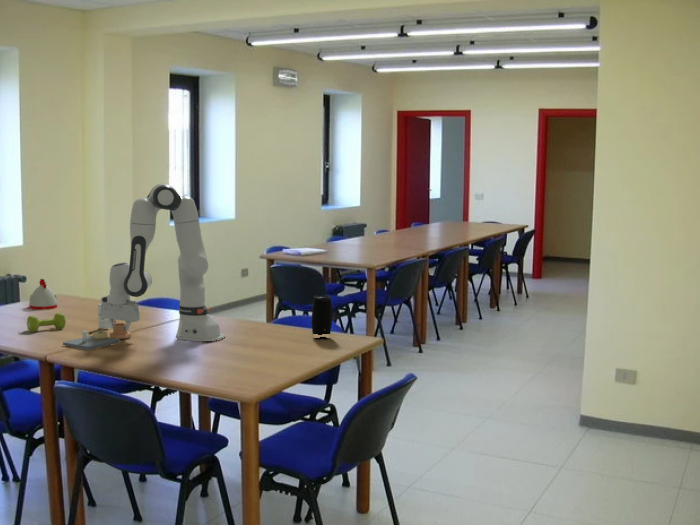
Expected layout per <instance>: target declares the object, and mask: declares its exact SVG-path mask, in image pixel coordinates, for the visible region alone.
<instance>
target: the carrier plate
mask: <svg viewBox="0 0 700 525" xmlns="http://www.w3.org/2000/svg"><path fill="white" fill-rule="evenodd" d="M81 333H82V334H81V337H80V338H76V339H71V340H68V341H67V340H66V341H63V342H62V346H63V345H65V346H64V347H67V346H70V347H69V348H73V347H75V348H74V349H78V348H79V349H80V350H85V351H92V350H91V349H93V350H96V348H97V349H101V348H104V346H105V347H108V345H109V346H112V345H111V344H113V345H116V343H117V344H120V342H121V339H115V338H110V336H108V332H106V331H102V330H98V331H95V332H93V333H92V335H89V336H88V332H87V330H83V331H82V332H81ZM100 347H101V348H100Z"/></svg>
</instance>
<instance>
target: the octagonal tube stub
mask: <svg viewBox="0 0 700 525" xmlns="http://www.w3.org/2000/svg"><path fill="white" fill-rule="evenodd" d="M126 324H127V323H126V322H116V323H115V324H113V329H112V331H111V332H109V338H115V339H120V340H121V339H129V338H131V336H132V334H131V331H124V327H125V326H126Z"/></svg>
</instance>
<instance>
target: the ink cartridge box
mask: <svg viewBox="0 0 700 525" xmlns="http://www.w3.org/2000/svg"><path fill="white" fill-rule="evenodd" d="M97 307H98V308H97V310H98V311H97V313H98V316H97V317H98V320H97V321H98V322H97V323H98V329H99V328H104V329H103V330H109V329H112V328H111V323H110V321H109V318H103V317H102V316H101V303H97ZM114 322H115V323H117V320H116V319H115V320H114ZM108 328H109V329H108Z"/></svg>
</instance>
